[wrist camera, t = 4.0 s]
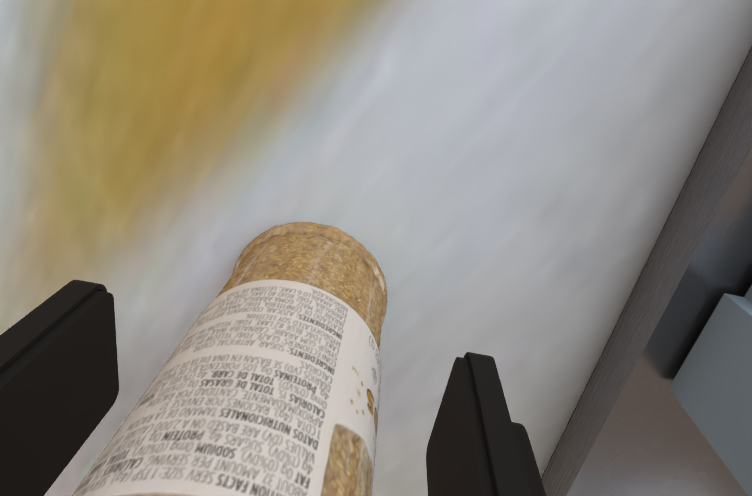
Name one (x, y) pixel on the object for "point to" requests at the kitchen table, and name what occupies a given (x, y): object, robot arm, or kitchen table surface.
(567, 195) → the kitchen table surface
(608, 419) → the clamp base
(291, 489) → the spice jar
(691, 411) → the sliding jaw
